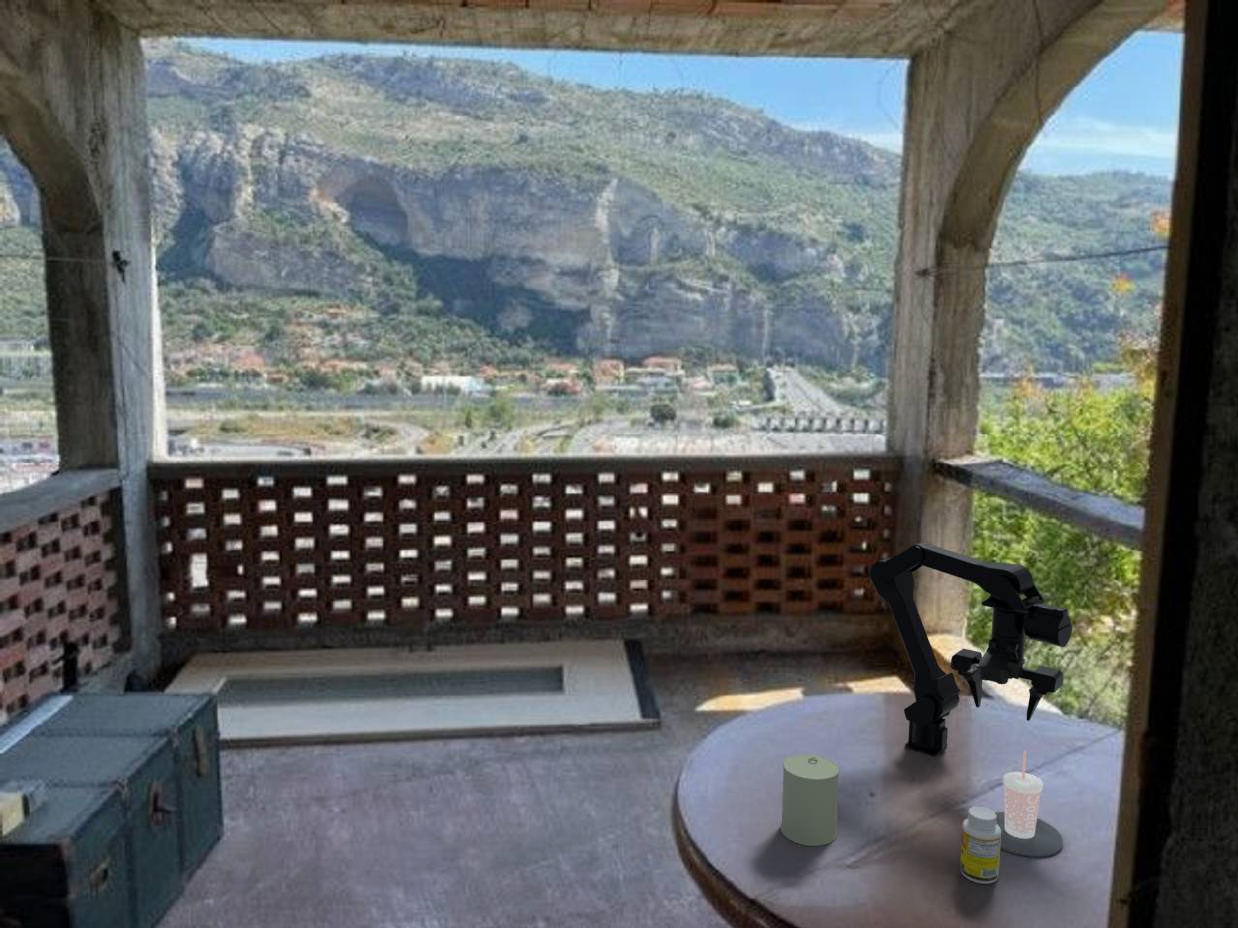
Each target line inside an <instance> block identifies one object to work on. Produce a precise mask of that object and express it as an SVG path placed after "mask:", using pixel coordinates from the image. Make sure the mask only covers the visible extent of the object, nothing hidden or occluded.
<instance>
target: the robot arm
mask: <svg viewBox="0 0 1238 928" xmlns="http://www.w3.org/2000/svg"><path fill="white" fill-rule="evenodd" d="M922 567H926V568H929V569H932V570H935V571H938V572H941V573H944V574H948V575H950V576H952V577H956V578H959V579H962V580H965V581H968V582H971V583H974V584H975V585H977V586H978V587H979V588H981V589H982V590H983V591H984V592H985V593H987V594H989V597H987V599H985V600H983V601H981V605H982V606H983V607H988V608H992V620H991V621H992V622H991V637H990V638H989V640H988V645H987V646H988V647H987V648H986V651H985V653H984V654H982V652H981V651H977V650H972V649H968V648H964V647H963V648H962V649H961V650H959V651H958V652H956V653H955V654H952V657H951V659H950V669H952V670H955V671H957V674H958V675H959V676H962V677H963V678H964V679H965V680H966V682H967V684H968V686H969V688H970V692H971V695H972V698H973V702H974V705H975V707H976V708H978V709H979V708H980V707H981V704H982V703H981V702H982V697H983V696H982V694H983V681H985V682H986V681H990V682H991V683H992V682H994V683H997V684H998V685H1006V684H1007V683H1008V682H1009V679H1010V680H1012V679H1015V680H1019V679H1023V680H1027V681H1030V684H1031V685H1032V686H1031V687H1030V688H1029V689H1028V693H1029V698H1028V699H1029V700H1028V703H1027V704H1028V705H1027V710H1026V721H1027V722H1030V721H1031V719H1032V718H1033V715H1034V713H1035V711H1036V709H1037V707H1038V705H1039V703H1040V701H1041V699H1042V698H1043V696H1047V695H1049V693H1051V694H1052V693H1056V692H1057V691H1058V690H1059V689H1060V688H1061V687H1062V686H1063V684H1064V674H1063V672H1062V671H1061V669H1057V668H1052V667H1048V666H1044V665H1043V666H1042V665H1040V666H1039V667H1038V668H1036V669H1031V668H1030V669H1029V668H1025V667H1024V665H1025V658H1024V655H1025V653H1024V652H1025V644H1026V643H1027V637H1028V639H1030V640H1032V641H1036V642H1040V643H1044V644H1048V645H1052V646H1056V647H1059V648H1065V647H1066V646H1067V645H1068V643H1069V642H1070V640H1071V637H1072V632H1073V624H1072V619H1071V617H1070V616H1069V611H1068V610H1069V609H1068V608H1066V607H1061V606H1058V607H1057V606H1052V605H1047V604H1045V603H1046V601H1045V599H1044V598H1043V596H1042V594H1041V592H1040V591H1039V589H1038V588H1037V586H1036V585H1035V582H1034V578H1033V575H1032V574H1031V571H1030V570H1029V568H1027V567H1025V566H1024V565H1022V564H1017V563H1007V562H995V561H994V562H992V561H991V562H990V561H983V560H981V559H977V558H975V557H971V556H968V555H964V554H962V553H958V552H955V551H952V550H950V549H949V550H948V549H945V548H942V547H939V546H936V545H933V544H931V543H930V542H927V541H926V542H925V541H924V542H919V543H916V544H912V545H910V546H909V547H908V548H907V549H906V550H904V551H902V552H900V553H898V554H896V555H894V556H892V557H889V558H885V559H882V560H878V561H876V562H875V563H873V564H872V566H871V568H870V570H869V571H868V572H869V573H868V574H869V579H870V581H871V584H872V585H873V587H874V589H875V591H876V593H877V594H878V595H879V596H880V597H881V598H882V599H883V600H884V601H885V602H886V603H887V605H889V608H890V610H891V614H892V615H893V619H894V621H895V623H896V627H897V629H898V631H899V634H900V637H901V640H902V643H903V646H904V648H905V652H906V653H907V656H908V659H909V662H910V664H911V667H912V670H913V673H914V680H913V681H914V682H913V694H914V699H915V701H914V702H913V703H911V704H910V705H908V706H907V707H905V708H904V709H903V712H904V717H905V719H906V721H908V736H907V737H908V739H907V742H906V743H904V747H905V748H906V749H910V750H912V751H913V750H914V751H917V752H919V753H922V754H926V755H929V756H933V757H936V756H938V755H939V754H940V753H941V752H942V751H943V750H945V749H946V748H947V747H948V727H947V726H946V724H947V723H946V722H947V721H946V718H945V717H948V716H949V715H950V714H951V712H952V711H953V710H955V709H956V708H957V707H958V705H959V703H960V693H961V689H960V688H959V687H958V685H957V683H956V678H955V675H954V673H953V672H949V673H946V672H945V671H944V670H943V669H942V668H941V667H940V666H939V664H938V661H937V658H936V656H935V654H934V650H933V647H932V645H931V642H930V639H929V637H928V634H927V632H926V629H925V626H924V624H923V622H922V621H923V620H922V618H921V616H920V613H919V610H918V607H917V605H916V602H915V600H914V589H915V588H914V587H915V585H914V584H915V579H914V575H913V573H915V572H917V571H918V570H919V569H921V568H922ZM1023 596H1024V597H1025V598H1022V597H1023Z"/></svg>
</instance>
